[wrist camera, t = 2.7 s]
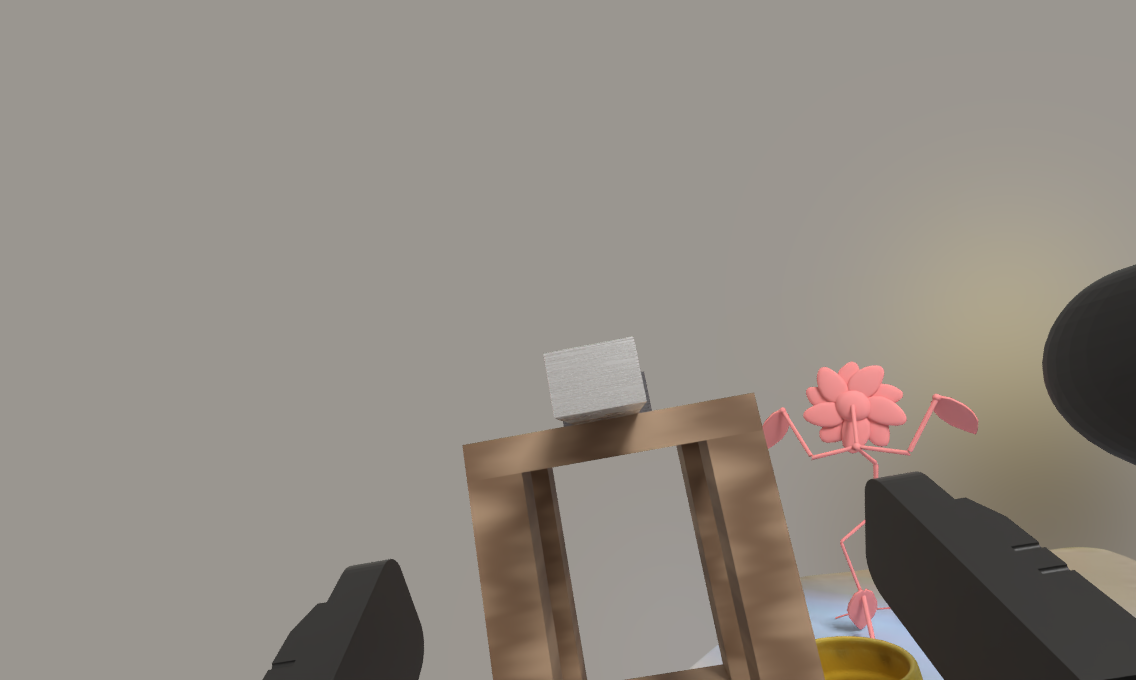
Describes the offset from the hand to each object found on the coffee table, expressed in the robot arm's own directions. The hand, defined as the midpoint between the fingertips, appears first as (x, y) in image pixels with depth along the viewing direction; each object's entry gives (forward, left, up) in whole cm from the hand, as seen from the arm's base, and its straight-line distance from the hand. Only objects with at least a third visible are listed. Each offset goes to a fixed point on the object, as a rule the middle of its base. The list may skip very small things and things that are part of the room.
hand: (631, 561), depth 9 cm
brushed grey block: (0, -20, +3) cm, 20 cm away
